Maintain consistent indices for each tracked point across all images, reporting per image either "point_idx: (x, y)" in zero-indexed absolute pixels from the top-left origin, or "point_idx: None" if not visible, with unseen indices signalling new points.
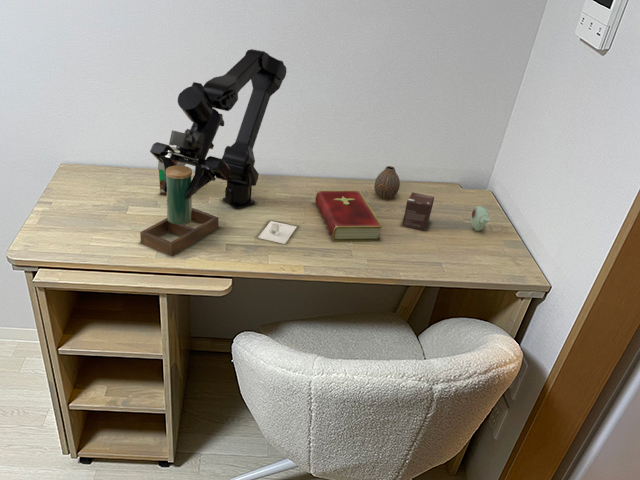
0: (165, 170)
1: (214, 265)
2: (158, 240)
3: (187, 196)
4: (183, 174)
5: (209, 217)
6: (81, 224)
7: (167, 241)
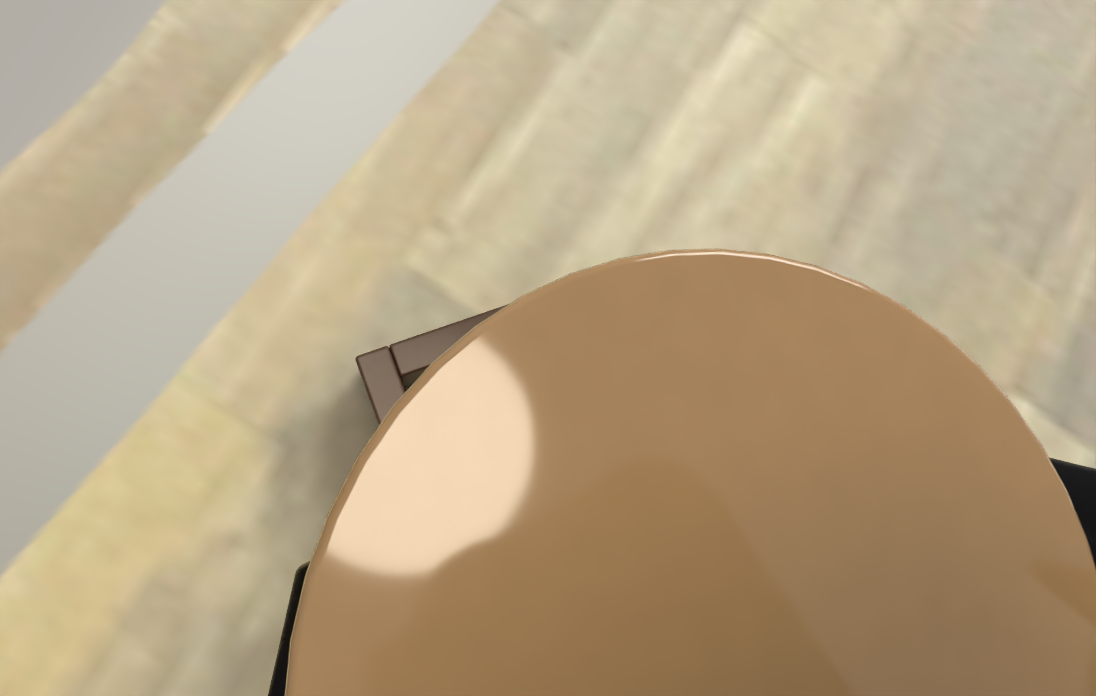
0: (1071, 482)
1: (57, 585)
2: (483, 314)
3: (297, 586)
4: (361, 658)
5: None
6: (980, 99)
7: (420, 356)
